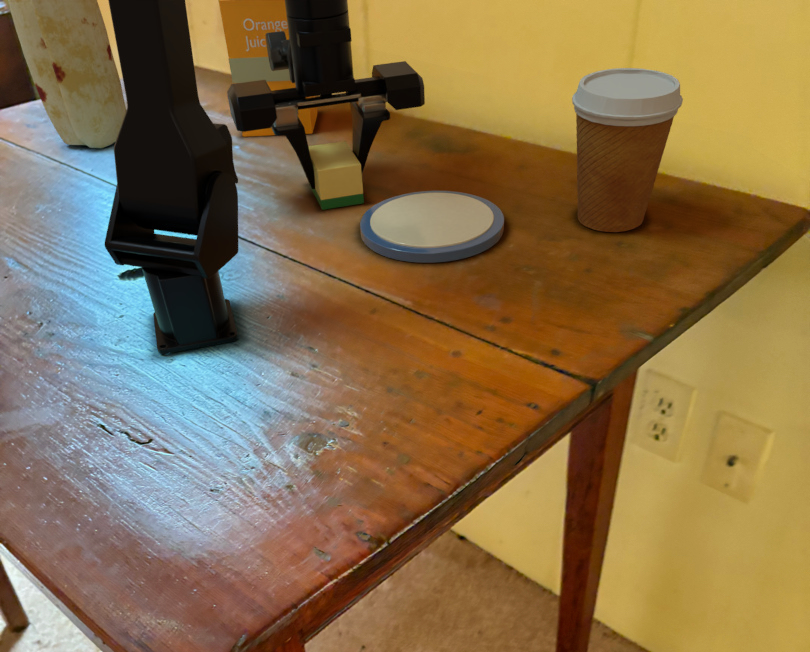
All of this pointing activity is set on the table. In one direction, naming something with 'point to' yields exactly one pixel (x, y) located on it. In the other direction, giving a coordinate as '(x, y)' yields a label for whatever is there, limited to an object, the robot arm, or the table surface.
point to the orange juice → (258, 49)
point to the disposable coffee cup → (621, 143)
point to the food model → (72, 68)
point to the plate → (432, 226)
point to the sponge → (336, 175)
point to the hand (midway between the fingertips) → (335, 184)
